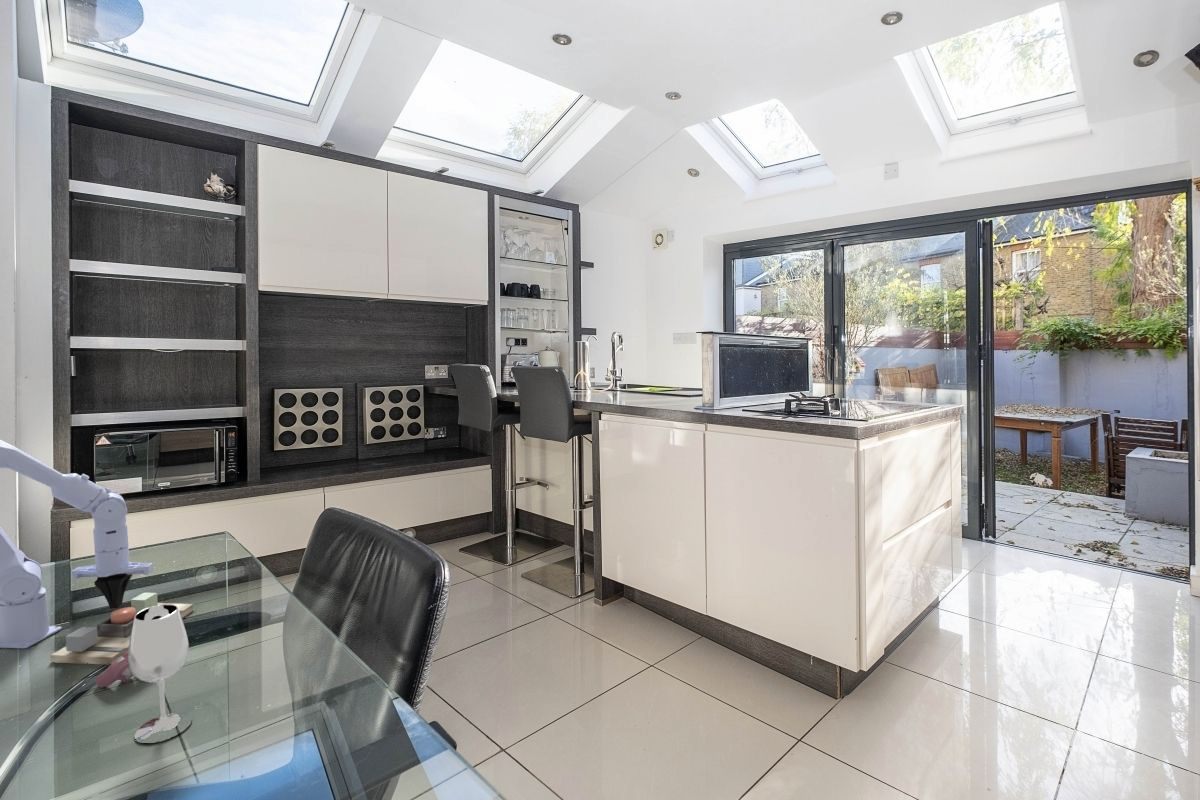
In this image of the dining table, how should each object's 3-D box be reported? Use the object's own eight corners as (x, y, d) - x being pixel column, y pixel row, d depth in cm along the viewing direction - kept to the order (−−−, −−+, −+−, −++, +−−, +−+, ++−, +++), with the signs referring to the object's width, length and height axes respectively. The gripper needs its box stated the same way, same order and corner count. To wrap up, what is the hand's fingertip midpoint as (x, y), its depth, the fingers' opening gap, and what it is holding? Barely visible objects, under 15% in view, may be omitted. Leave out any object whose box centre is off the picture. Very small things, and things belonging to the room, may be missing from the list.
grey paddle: (66, 651, 113) (65, 636, 112) (83, 641, 116) (82, 627, 116) (81, 651, 113) (80, 637, 112) (98, 641, 116) (97, 627, 116)
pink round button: (106, 627, 120) (105, 616, 119) (122, 618, 124) (121, 606, 123) (125, 628, 120) (124, 616, 119) (140, 618, 124) (140, 607, 123)
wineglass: (154, 713, 98) (147, 601, 96) (203, 712, 99) (197, 600, 97) (120, 746, 91) (112, 624, 88) (174, 744, 91) (166, 624, 89)
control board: (51, 662, 112) (49, 642, 112) (142, 608, 134) (140, 592, 134) (112, 664, 112) (111, 645, 112) (193, 610, 134) (192, 593, 133)
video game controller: (110, 699, 104) (122, 669, 103) (90, 685, 105) (102, 655, 103) (161, 668, 114) (173, 640, 113) (143, 656, 114) (154, 628, 113)
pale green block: (131, 612, 128) (130, 599, 128) (144, 605, 132) (143, 592, 131) (145, 613, 128) (144, 600, 128) (157, 605, 132) (157, 592, 131)
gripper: (60, 556, 123) (65, 617, 124) (139, 552, 126) (143, 612, 128) (82, 544, 130) (86, 602, 131) (156, 540, 133) (160, 597, 134)
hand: (116, 606), depth 130 cm, fingers closed
